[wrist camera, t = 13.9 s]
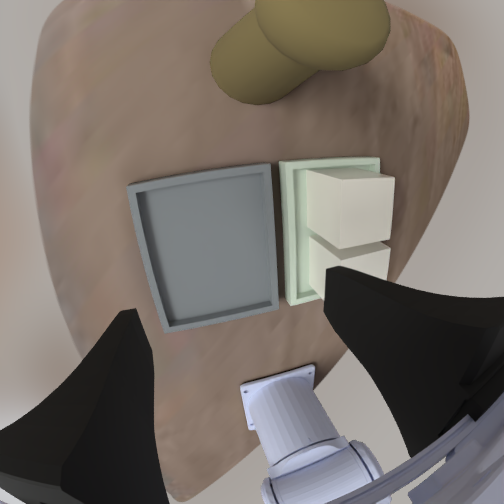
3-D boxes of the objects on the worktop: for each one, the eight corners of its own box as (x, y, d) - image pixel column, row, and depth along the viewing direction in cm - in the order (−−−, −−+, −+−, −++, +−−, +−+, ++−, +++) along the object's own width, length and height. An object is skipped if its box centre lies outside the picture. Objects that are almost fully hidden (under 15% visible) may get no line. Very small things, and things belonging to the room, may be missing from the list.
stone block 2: (351, 273, 23) (383, 299, 19) (309, 284, 22) (336, 315, 18) (354, 227, 21) (390, 247, 17) (309, 236, 21) (341, 260, 17)
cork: (295, 31, 15) (400, -30, 5) (298, 106, 17) (421, 90, 7) (209, 25, 13) (257, -77, 4) (210, 105, 16) (263, 56, 6)
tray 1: (273, 301, 23) (278, 309, 22) (164, 324, 21) (164, 333, 20) (264, 162, 18) (270, 163, 17) (129, 183, 16) (126, 186, 15)
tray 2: (364, 277, 24) (371, 283, 23) (285, 298, 23) (290, 306, 22) (370, 156, 20) (379, 158, 19) (278, 161, 18) (285, 162, 17)
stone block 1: (353, 219, 21) (389, 239, 17) (306, 226, 20) (339, 249, 16) (354, 167, 19) (394, 177, 15) (306, 169, 19) (341, 179, 15)
